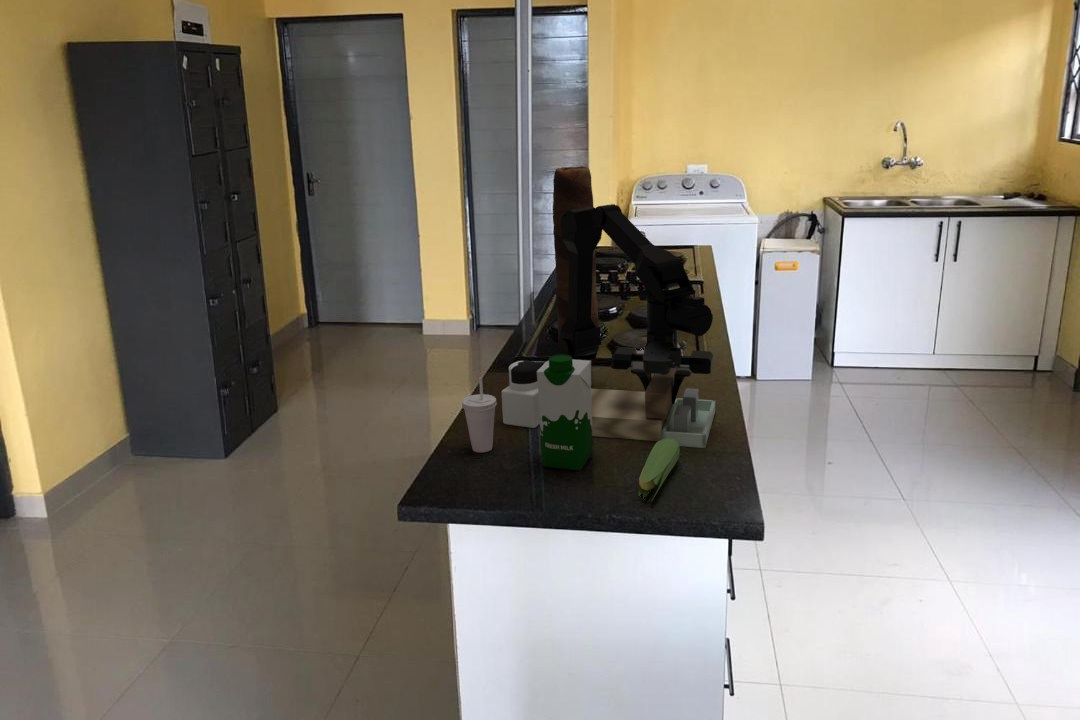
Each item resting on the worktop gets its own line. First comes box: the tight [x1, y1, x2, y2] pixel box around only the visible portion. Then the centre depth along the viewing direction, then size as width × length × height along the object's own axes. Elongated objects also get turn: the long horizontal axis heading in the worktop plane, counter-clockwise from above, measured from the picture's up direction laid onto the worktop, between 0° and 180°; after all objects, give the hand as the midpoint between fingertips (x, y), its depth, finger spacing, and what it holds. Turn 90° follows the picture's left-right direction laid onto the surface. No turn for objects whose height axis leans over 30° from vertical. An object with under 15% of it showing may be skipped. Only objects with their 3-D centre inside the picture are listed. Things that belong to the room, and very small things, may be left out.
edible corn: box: [637, 439, 681, 503], centre depth 145 cm, size 5×20×5 cm
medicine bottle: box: [500, 360, 540, 429], centre depth 172 cm, size 7×7×12 cm
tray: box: [662, 397, 716, 449], centre depth 166 cm, size 8×18×2 cm, turn 164°
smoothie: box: [461, 377, 497, 453], centre depth 159 cm, size 6×6×14 cm
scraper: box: [644, 368, 677, 419], centre depth 166 cm, size 4×14×5 cm, turn 163°
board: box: [591, 388, 667, 442], centre depth 170 cm, size 17×15×4 cm
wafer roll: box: [552, 166, 600, 344], centre depth 210 cm, size 10×11×45 cm
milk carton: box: [537, 354, 593, 471], centre depth 152 cm, size 9×9×20 cm
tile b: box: [674, 405, 691, 433], centre depth 162 cm, size 5×5×2 cm
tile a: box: [682, 387, 699, 422], centre depth 170 cm, size 5×5×2 cm
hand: (662, 402), depth 167 cm, fingers closed on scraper, 4 cm apart
